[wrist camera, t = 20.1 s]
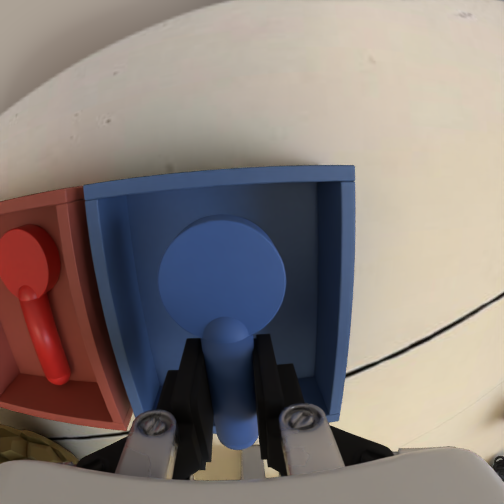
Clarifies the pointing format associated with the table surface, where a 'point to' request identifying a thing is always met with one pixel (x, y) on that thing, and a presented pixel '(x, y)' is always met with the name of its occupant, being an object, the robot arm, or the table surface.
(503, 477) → the computer mouse
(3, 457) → the decorative object
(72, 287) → the red bin
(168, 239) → the blue bin
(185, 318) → the blue spoon
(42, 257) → the red ping pong paddle
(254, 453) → the grey flat angular piece
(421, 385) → the table surface
